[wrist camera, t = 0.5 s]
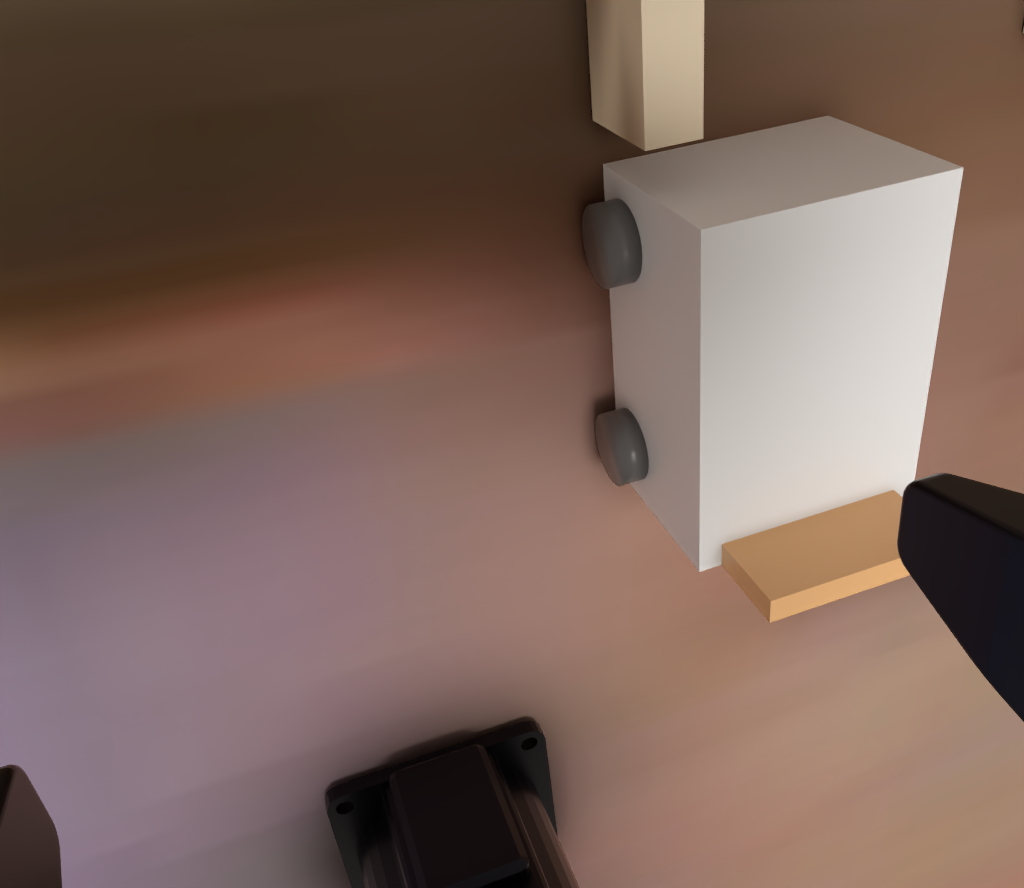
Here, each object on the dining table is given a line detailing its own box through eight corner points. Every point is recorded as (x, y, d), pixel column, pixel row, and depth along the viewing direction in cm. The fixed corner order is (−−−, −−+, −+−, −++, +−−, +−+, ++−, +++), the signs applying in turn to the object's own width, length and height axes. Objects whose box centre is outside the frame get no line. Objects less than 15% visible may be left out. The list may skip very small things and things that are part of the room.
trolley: (821, 407, 26) (993, 546, 21) (594, 473, 25) (719, 640, 20) (847, 108, 22) (1073, 191, 17) (574, 168, 21) (727, 278, 15)
